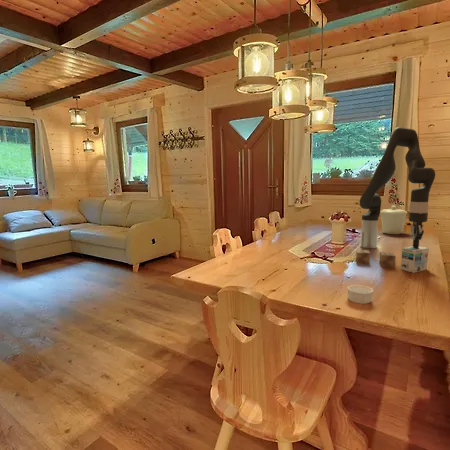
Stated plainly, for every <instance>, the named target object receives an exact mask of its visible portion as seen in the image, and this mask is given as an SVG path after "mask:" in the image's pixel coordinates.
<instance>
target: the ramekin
mask: <svg viewBox="0 0 450 450" xmlns="http://www.w3.org/2000/svg"><path fill="white" fill-rule="evenodd" d="M373 293H374V289H373V288H372V287H370V286H367V285H362V284H352V285H349V286H347V297H348V300H350V301H351V303H352V302H353V303H356V304H360V305H362V304H363V305H366V304H367V305H368V304H370V303H371V302H372V300H373Z"/></svg>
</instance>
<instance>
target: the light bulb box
mask: <svg viewBox="0 0 450 450" xmlns="http://www.w3.org/2000/svg"><path fill="white" fill-rule="evenodd" d="M401 250H402V251H401V263H400V270H402V271H405V272H410V273H413V274H414V273H418V272H422V271H426V270H428V260H429V248H428V247H425V246H421V245H419V247H418V248H414V247H413V245H411V246H406V247H402V249H401Z"/></svg>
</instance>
